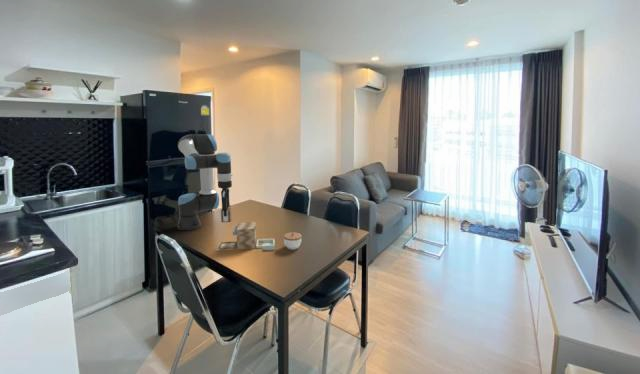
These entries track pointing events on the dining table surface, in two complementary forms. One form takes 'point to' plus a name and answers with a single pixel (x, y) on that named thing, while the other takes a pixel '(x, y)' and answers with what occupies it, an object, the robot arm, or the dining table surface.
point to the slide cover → (235, 230)
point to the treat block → (228, 215)
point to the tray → (266, 244)
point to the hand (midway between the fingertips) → (226, 219)
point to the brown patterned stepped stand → (241, 238)
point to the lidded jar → (292, 240)
